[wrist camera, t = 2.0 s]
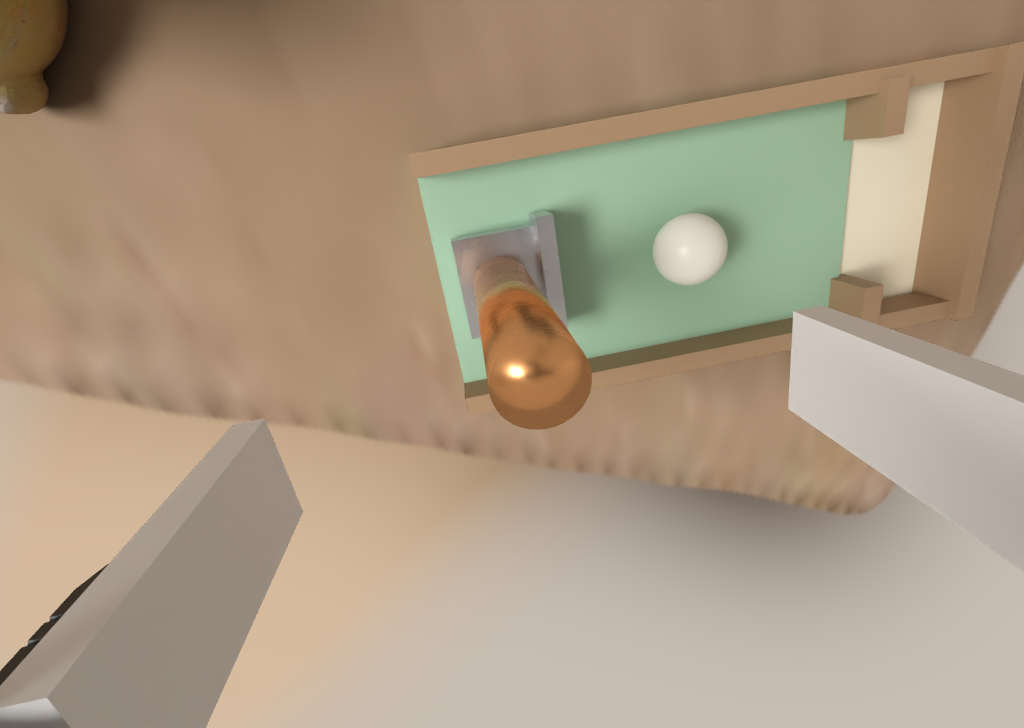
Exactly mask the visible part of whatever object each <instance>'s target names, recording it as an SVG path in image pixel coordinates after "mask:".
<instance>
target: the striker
mask: <svg viewBox="0 0 1024 728" xmlns="http://www.w3.org/2000/svg"><path fill="white" fill-rule="evenodd" d="M528 214H529V220H530V223H529V224H524V225H518V226H513V227H508V228H503V229H497V230H492V231H487V232H481V233H476V234H471V235H466V236H460V237H455V238H451V244H452V248H453V253H454V258H455V262H456V267H457V272H458V276H459V281H460V286H461V290H462V295H463V300H464V304H465V309H466V314H467V318H468V323H469V327H470V332H471V337H472V339H476V338H481V341H482V348H483V355H484V361H485V368H486V375H487V381H488V388H489V394H490V398H491V401H492V403H493V405H494V407H495V408H496V410H497V411H498V412H499V414H500V415H501V416H502V417H504V418H505V419H506V420H507V421H509V422H510V423H512V424H514V425H516V426H519V427H522V428H527V429H547V428H551V427H555V426H557V425H560V424H562V423H564V422H566V421H567V420H569V419H570V418H572V417H573V416H574V415H575V414H576V413H577V412H578V411H579V410H580V409H581V408H582V406H583V405H584V404H585V402H586V400H587V398H588V396H589V393H590V390H591V386H592V371H591V366H590V364H589V361H588V359H587V357H586V355H585V354H584V352H583V351H582V349H581V348H580V347H579V345H578V344H577V342H576V341H575V339H574V338H573V337H572V335H571V334H570V332H569V331H568V324H567V316H566V308H565V301H564V293H563V285H562V278H561V270H560V263H559V255H558V247H557V240H556V232H555V225H554V217H553V214H552V213H549V212H547V211H545V210H542V211H537V212H531V213H528Z"/></svg>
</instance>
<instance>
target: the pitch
mask: <svg viewBox="0 0 1024 728" xmlns="http://www.w3.org/2000/svg"><path fill="white" fill-rule="evenodd" d="M1023 76H1024V41H1023V42H1018V43H1012V44H1008V45H1003V46H999V47H993V48H988V49H982V50H977V51H971V52H966V53H961V54H955V55H950V56H944V57H939V58H933V59H928V60H922V61H917V62H911V63H906V64H900V65H895V66H889V67H884V68H879V69H873V70H868V71H862V72H857V73H851V74H846V75H840V76H835V77H829V78H824V79H818V80H813V81H807V82H802V83H796V84H791V85H786V86H780V87H775V88H769V89H764V90H758V91H753V92H747V93H742V94H736V95H731V96H725V97H720V98H714V99H709V100H704V101H698V102H693V103H687V104H682V105H676V106H671V107H665V108H660V109H654V110H649V111H643V112H638V113H632V114H627V115H622V116H616V117H611V118H605V119H600V120H594V121H589V122H583V123H578V124H572V125H567V126H561V127H556V128H550V129H545V130H539V131H534V132H529V133H523V134H518V135H512V136H507V137H501V138H496V139H490V140H485V141H479V142H474V143H468V144H463V145H457V146H452V147H447V148H441V149H436V150H430V151H425V152H419V153H414V154H408V156H409V160H410V164H411V169H412V173H413V177H414V179H416V178H417V179H418V184H419V188H420V192H421V197H422V201H423V205H424V210H425V214H426V219H427V223H428V227H429V232H430V236H431V240H432V245H433V249H434V253H435V258H436V262H437V266H438V271H439V275H440V279H441V284H442V288H443V292H444V297H445V301H446V305H447V310H448V314H449V318H450V323H451V327H452V331H453V336H454V340H455V345H456V349H457V353H458V358H459V362H460V366H461V371H462V375H463V379H464V385H465V401H466V405H467V409H468V414H469V415H472V414H477V413H482V412H487V411H492V410H496V408H495V407H494V405H493V403H492V401H491V398H490V394H489V388H488V381H487V375H486V368H485V361H484V355H483V348H482V341H481V338H476V339H472V337H471V332H470V327H469V323H468V318H467V314H466V309H465V304H464V300H463V295H462V290H461V286H460V281H459V276H458V272H457V267H456V262H455V258H454V253H453V248H452V244H451V238H455V237H460V236H466V235H471V234H476V233H481V232H487V231H492V230H497V229H503V228H508V227H513V226H518V225H524V224H529V223H530V220H529V214H528V213H531V212H537V211H542V210H545V211H547V212H549V213H552V214H553V217H554V225H555V232H556V240H557V247H558V255H559V263H560V270H561V278H562V285H563V293H564V301H565V308H566V316H567V324H568V331H569V332H570V334H571V335H572V337H573V338H574V339H575V341H576V342H577V344H578V345H579V347H580V348H581V349H582V351H583V352H584V354H585V355H586V357H587V359H588V361H589V364H590V366H591V371H592V386H591V390H595V389H600V388H605V387H610V386H615V385H620V384H625V383H630V382H635V381H640V380H645V379H650V378H655V377H659V376H664V375H669V374H674V373H679V372H684V371H689V370H694V369H699V368H704V367H709V366H714V365H719V364H724V363H729V362H733V361H738V360H743V359H748V358H753V357H758V356H763V355H768V354H773V353H778V352H783V351H788V350H791V347H792V327H793V311H798V310H803V309H808V308H813V307H818V306H826V307H828V308H831V309H834V310H837V311H840V312H843V313H846V314H848V315H851V316H854V317H857V318H860V319H863V320H866V321H869V322H871V323H874V324H877V325H880V326H883V327H886V328H889V329H896V328H901V327H906V326H911V325H916V324H921V323H926V322H931V321H936V320H941V319H945V318H948V319H951V320H955V321H957V320H962V319H967V318H972V317H973V314H974V310H975V305H976V300H977V295H978V290H979V286H980V281H981V276H982V271H983V267H984V262H985V257H986V252H987V248H988V243H989V238H990V233H991V229H992V224H993V219H994V214H995V210H996V205H997V200H998V195H999V190H1000V186H1001V181H1002V176H1003V171H1004V167H1005V162H1006V157H1007V152H1008V148H1009V143H1010V138H1011V133H1012V129H1013V124H1014V119H1015V114H1016V110H1017V105H1018V100H1019V95H1020V91H1021V86H1022V81H1023ZM686 213H700V214H704V215H707V216H709V217H711V218H713V219H714V220H715V221H717V222H718V223H719V224H720V226H721V227H722V228H723V230H724V232H725V234H726V237H727V244H728V249H727V255H726V258H725V261H724V263H723V265H722V266H721V268H720V269H719V270H718V271H717V273H716V274H714V275H713V276H712V277H711V278H709V279H708V280H706V281H704V282H701V283H698V284H694V285H680V284H676V283H673V282H671V281H669V280H668V279H666V278H665V277H664V276H663V275H662V274H661V273H660V272H659V271H658V269H657V267H656V265H655V263H654V259H653V244H654V240H655V238H656V236H657V234H658V232H659V231H660V229H661V228H662V227H663V226H664V225H665V224H666V223H667V222H668V221H670V220H671V219H672V218H674V217H676V216H679V215H682V214H686Z"/></svg>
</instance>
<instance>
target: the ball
mask: <svg viewBox="0 0 1024 728" xmlns="http://www.w3.org/2000/svg"><path fill="white" fill-rule="evenodd" d="M727 249H728V244H727V237H726V234H725V232H724V230H723V228H722V227H721V226H720V224H719V223H718V222H717V221H715V220H714V219H713V218H711V217H709V216H707V215H704V214H700V213H686V214H682V215H679V216H676V217H674V218H672V219H671V220H670V221H668V222H667V223H666V224H665V225H664V226H663V227H662V228H661V229H660V231H659V232H658V234H657V236H656V238H655V240H654V244H653V259H654V263H655V265H656V267H657V269H658V271H659V272H660V273H661V274H662V275H663V276H664V277H665V278H666V279H668V280H669V281H671V282H673V283H676V284H680V285H694V284H698V283H701V282H704V281H706V280H708V279H709V278H711V277H712V276H713V275H714V274H716V273H717V271H718V270H719V269H720V268H721V266H722V265H723V263H724V261H725V258H726V255H727Z"/></svg>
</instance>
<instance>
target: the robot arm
mask: <svg viewBox="0 0 1024 728" xmlns="http://www.w3.org/2000/svg"><path fill="white" fill-rule="evenodd" d="M788 409H789V410H791V411H792V412H794V413H795V414H797V415H798V416H799V417H801V418H802V419H804V420H805V421H807V422H808V423H809V424H811V425H812V426H814V427H815V428H817V429H818V430H820V431H821V432H822V433H824V434H825V435H827V436H828V437H830V438H831V439H833V440H834V441H835V442H837V443H838V444H840V445H841V446H843V447H844V448H845V449H847V450H848V451H850V452H851V453H853V454H854V455H856V456H857V457H858V458H860V459H861V460H863V461H864V462H866V463H867V464H869V465H870V466H871V467H873V468H874V469H876V470H877V471H879V472H880V473H881V474H883V475H884V476H886V477H887V478H889V479H890V480H892V481H893V482H894V483H896V484H897V485H899V486H900V487H902V488H903V489H905V490H906V491H907V492H909V493H910V494H912V495H913V496H915V497H916V498H917V499H919V500H920V501H922V502H923V503H925V504H926V505H928V506H929V507H930V508H932V509H933V510H935V511H936V512H938V513H939V514H941V515H942V516H944V517H945V518H946V519H948V520H949V521H951V522H952V523H953V524H955V525H956V526H958V527H959V528H961V529H962V530H964V531H965V532H966V533H968V534H969V535H971V536H972V537H974V538H975V539H976V540H978V541H979V542H981V543H982V544H984V545H985V546H987V547H988V548H989V549H991V550H992V551H994V552H995V553H997V554H998V555H999V556H1001V557H1003V558H1004V559H1005V560H1007V561H1008V562H1010V563H1011V564H1013V565H1014V566H1015V567H1017V568H1018V569H1020V570H1021V571H1023V572H1024V376H1023V375H1020V374H1017V373H1014V372H1011V371H1008V370H1006V369H1002V368H1000V367H997V366H994V365H991V364H988V363H986V362H983V361H980V360H977V359H974V358H971V357H969V356H966V355H963V354H960V353H957V352H954V351H951V350H949V349H946V348H943V347H940V346H937V345H934V344H931V343H929V342H926V341H923V340H920V339H917V338H914V337H911V336H909V335H906V334H903V333H900V332H897V331H894V330H891V329H889V328H886V327H883V326H880V325H877V324H874V323H871V322H869V321H866V320H863V319H860V318H857V317H854V316H851V315H848V314H846V313H843V312H840V311H837V310H834V309H831V308H828V307H826V306H818V307H813V308H808V309H803V310H798V311H793V327H792V347H791V367H790V386H789V406H788ZM302 513H303V510H302V508H301V505H300V503H299V500H298V498H297V496H296V493H295V491H294V488H293V486H292V483H291V481H290V479H289V476H288V474H287V471H286V469H285V467H284V464H283V462H282V459H281V457H280V454H279V452H278V450H277V447H276V445H275V442H274V440H273V437H272V435H271V433H270V430H269V428H268V425H267V423H266V421H265V419H260V420H255V421H250V422H245V423H240V424H236V425H232V426H231V427H230V428H229V429H228V431H227V432H226V433H225V434H224V435H223V436H222V437H221V438H220V440H219V441H218V442H217V443H216V444H215V445H214V446H213V447H212V449H211V450H210V451H209V452H208V453H207V454H206V455H205V457H204V458H203V459H202V460H201V461H200V462H199V463H198V464H197V465H196V466H195V468H194V469H193V470H192V471H191V472H190V473H189V475H188V476H187V477H186V478H185V479H184V480H183V481H182V482H181V484H180V485H179V486H178V487H177V488H176V489H175V490H174V491H173V492H172V493H171V495H170V496H169V497H168V498H167V499H166V500H165V501H164V503H163V504H162V505H161V506H160V507H159V508H158V509H157V510H156V511H155V513H154V514H153V515H152V516H151V517H150V518H149V519H148V521H147V522H146V523H145V524H144V525H143V526H142V527H141V528H140V529H139V531H138V532H137V533H136V534H135V535H134V536H133V537H132V538H131V540H130V541H129V542H128V543H127V544H126V545H125V546H124V547H123V549H122V550H121V551H120V552H119V553H118V554H117V555H116V557H114V559H113V560H112V561H111V562H110V563H109V564H107V565H106V566H105V567H104V568H102V569H101V570H100V571H98V572H97V573H96V574H94V575H93V576H92V577H91V578H89V579H88V580H87V581H86V582H84V583H83V584H82V585H80V586H79V587H78V588H76V589H75V590H74V591H73V592H72V593H71V594H70V596H69V597H68V598H67V599H66V600H65V601H64V602H63V603H62V604H61V605H60V607H59V608H58V609H57V610H56V611H55V612H54V613H53V614H52V615H51V617H50V621H49V622H47V623H44V624H43V625H42V626H41V627H40V628H39V630H38V631H37V632H36V633H35V634H34V635H33V636H32V637H31V638H30V639H29V641H28V645H27V646H26V647H22V648H21V649H20V650H19V651H18V652H17V654H15V656H14V657H13V658H12V659H11V660H10V661H9V662H8V663H7V664H6V665H5V666H4V668H3V669H2V670H1V671H0V728H206V726H207V724H208V722H209V719H210V717H211V714H212V713H213V710H214V708H215V706H216V704H217V702H218V699H219V697H220V695H221V693H222V690H223V688H224V686H225V684H226V682H227V679H228V677H229V675H230V673H231V670H232V668H233V666H234V664H235V662H236V659H237V657H238V655H239V653H240V650H241V648H242V646H243V644H244V641H245V639H246V637H247V635H248V633H249V630H250V628H251V626H252V624H253V621H254V619H255V617H256V615H257V613H258V610H259V608H260V606H261V604H262V601H263V599H264V597H265V595H266V593H267V590H268V588H269V586H270V584H271V581H272V579H273V577H274V575H275V573H276V570H277V568H278V566H279V564H280V562H281V559H282V557H283V555H284V553H285V550H286V548H287V546H288V544H289V541H290V539H291V537H292V535H293V533H294V530H295V528H296V526H297V524H298V521H299V519H300V517H301V515H302Z"/></svg>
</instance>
